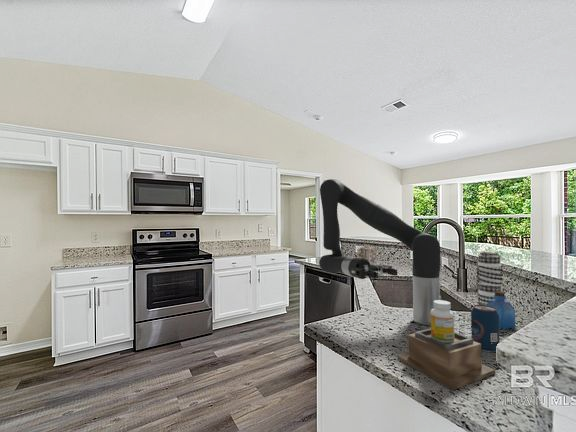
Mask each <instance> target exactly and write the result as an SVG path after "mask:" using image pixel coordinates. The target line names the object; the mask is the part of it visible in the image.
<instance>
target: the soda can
mask: <svg viewBox="0 0 576 432" xmlns="http://www.w3.org/2000/svg"><path fill="white" fill-rule="evenodd" d="M470 323H471V326H470V327H471V330H470V331H471V332H470V333H471V336H470V338H472V339H473V341H475V342H478V343H480V344H481V352H482V351H483V352H488V353H494V352H495V351H496V346H497V344H498V343H499V342H500V328H499V315H498V313H497V311H496V308H494V307H491V306H486V305H479V304H474V305H472V309H471V310H470ZM500 343H501V342H500ZM496 352H497V351H496Z"/></svg>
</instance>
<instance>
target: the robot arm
mask: <svg viewBox="0 0 576 432" xmlns="http://www.w3.org/2000/svg"><path fill="white" fill-rule="evenodd" d="M319 195H320V196H319V197H320V201H321V208H322V219H323V221H322V222H323V243H322V244H323V248H324V249H325V250H327V251H331V254H324V255H322V256H321V257H320V259H319V262H318V264H319V265H318V266H319V268H320V269H321V270H322V271H324V272H325V273H326V272H327V273H340V274H343V275H347V276H349V277H352V278H355V279H359V280H364V279H367V278H371V279H378V278H379V276H383V275H390V276H395V277H396V276H398V269H397V268H393V266H392V265H385V264H380V263H379V264H377V265H374V264H370V263H369V261H368V260H366V259H362V258H358V257H355V256H344V255H343V252H342V249H341V243H340V242H341V230H340V223H339V216H338V204H340V205H342V206H344V207H345V208H347V209H348V210H350V211H351V212H352V213H353V214H354V215H355V216H356V217H358V219H360V220H361V221H362V222H364V223H365V224H366V225H368V226H370V227H371V228H373V229H374V230H377V232H380V233H382V234H384V235H387V236H388V237H391V238H393V239H396V240H397V241H399V242H401V243H402V244H403V245H405V246H406V247H407V248H409V249H410V250H411V251H412V271H411V272H412V320H413V322H415V323H417V324H419V325H424V326H430V327H431V310H432V309H434V305H433V302H434V301H435V300H442V296H441V292H440V291H441V289H440V288H441V287H440V285H441V284H440V283H441V282H440V272H441V244H440V241H439V240H438V238H437V237H435V236H434V235H433V234H429V233H426V232H424V231H421V230H420V229H417V228H416V227H414V226H411V225H409V224H408V223H406V222H405V221H404V220H402V219H401V218H400V217H398V215H396V214H395V213H393V212H392V211H390V210H389V209H388V208H386V207H384V206H382V205H381V204H379V203H376V202H375V201H374V200H371V199H369V198H367V197H365V196H363V195H360V194H359V193H357V192H355V191H354V190H352V189H351V188H350V187H348V186H347V185H346V184H344V183H343V182H342V181H341V180H339V179H331V178H330V179H327V180H324V181H323V182H322V183H321V184H320V187H319Z"/></svg>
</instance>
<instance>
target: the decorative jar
mask: <svg viewBox="0 0 576 432" xmlns="http://www.w3.org/2000/svg"><path fill="white" fill-rule="evenodd" d="M377 252H378V251H377V249H376V248H375V247H374V246H371V245H370V244H364V246H361V247H359V248H358V250H357V258H362V259H366V260H368V261H369V263H370V264H374V265H378V255H377Z"/></svg>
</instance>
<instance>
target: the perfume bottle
mask: <svg viewBox="0 0 576 432" xmlns="http://www.w3.org/2000/svg"><path fill="white" fill-rule="evenodd" d="M494 292H495V294H494V298H495V300H491V301H490V302H489V303H488V304H487V306H491V307H494V308H496V311H497V313H498V315H499V329H501V330H508V329H513V328H516V309H515V308H514V307H513V305H512V303H510V301H506V299H507V297H506V292H505V291H502V290H501V291H494Z"/></svg>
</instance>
